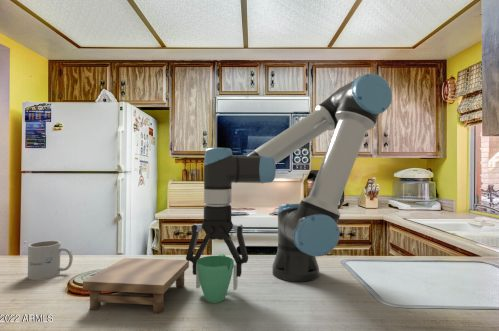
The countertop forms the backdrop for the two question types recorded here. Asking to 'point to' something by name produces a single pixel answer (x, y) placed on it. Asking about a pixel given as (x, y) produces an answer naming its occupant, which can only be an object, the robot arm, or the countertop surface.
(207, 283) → the green cup
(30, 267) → the mug
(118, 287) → the stool
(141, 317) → the countertop surface
